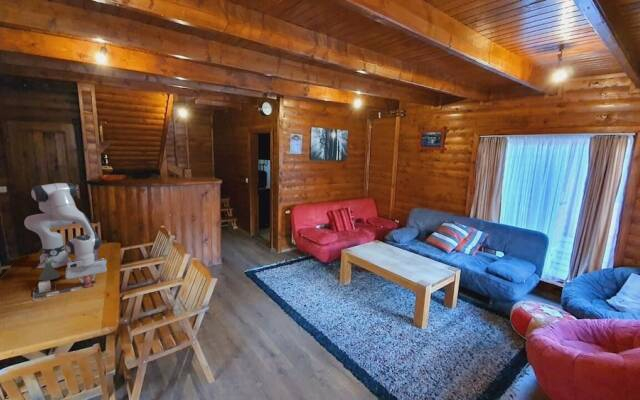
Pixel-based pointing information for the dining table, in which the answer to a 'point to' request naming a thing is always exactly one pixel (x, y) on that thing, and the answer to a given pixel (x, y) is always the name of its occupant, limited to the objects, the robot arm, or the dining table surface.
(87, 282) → the pawn
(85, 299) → the dining table surface
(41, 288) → the die
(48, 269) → the character figurine
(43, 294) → the track board
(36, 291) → the dice tray
